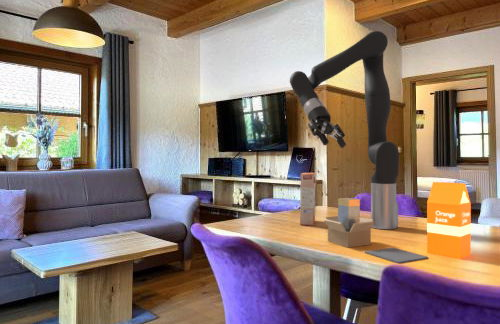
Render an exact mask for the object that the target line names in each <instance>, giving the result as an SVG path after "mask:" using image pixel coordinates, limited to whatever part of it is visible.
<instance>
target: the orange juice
mask: <svg viewBox="0 0 500 324" xmlns="http://www.w3.org/2000/svg"><path fill="white" fill-rule="evenodd" d="M426 204H427V206H426V208H427V209H426V216H427V217H426V220H427V221H426V232H427V233H426V236H427V237H426V242H427V243H426V248H427V249H426V253H427V254H430V255H435V256H441V257H447V258H452V259H457V260H461V259H465V258H466V257H468V256H470V255H471V246H472V245H471V242H472V241H471V240H472V239H471V237H472V236H471V233H472V225H471V224H472V223H471V221H472V220H471V219H472V216H471V215H472V214H471V213H472V212H471V211H472V208H471V207H472V206H471V200H470V197H469V193H468V189H467V185H466V183H465V182H444V181H443V182H441V181H440V182H439V181H432V185H431V188H430V192H429V195H428V199H427V202H426Z"/></svg>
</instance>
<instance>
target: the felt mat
mask: <svg viewBox="0 0 500 324" xmlns="http://www.w3.org/2000/svg"><path fill="white" fill-rule="evenodd" d="M364 254H366V255H367V254H368V255H371V256H374V257H376V258H379V257H380V259H383V260H387V261H390V262H393V263H396V264H403V263H409V262H416V261H421V260H428V259H429V256H426V255H423V254H418V253H415V252H412V251H407V250H403V249H400V248H396V247H387V248H380V249H373V250H365V251H364Z"/></svg>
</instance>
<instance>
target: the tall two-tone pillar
mask: <svg viewBox="0 0 500 324" xmlns="http://www.w3.org/2000/svg"><path fill="white" fill-rule="evenodd" d="M360 201H361V199H359V198H353V197H341V198H337V216H338V222H340V223H342V225H343V227H344V228H345V230H346V232H349V231H350V230H351V228H352V226H353V224H354V223H360V217H361V216H360V215H361V209H360V208H361V204H360V203H361V202H360Z"/></svg>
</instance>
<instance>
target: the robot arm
mask: <svg viewBox="0 0 500 324" xmlns="http://www.w3.org/2000/svg"><path fill="white" fill-rule="evenodd" d="M387 47H388V37H387V35H386V34H385V32H382V31H379V30H374V31H370V32H369V33H367V34H366V35H365V36H363V37H362V38H361V39H360V40H358V41H357V42H355V43H354V44H353V45H351V46H349V47H348V48H346V49H345V50H343V51H340V52H339V53H337V54H335V55H334V56H331V57H330V58H328V59H325V60H324V61H322V62H320V63H318V64H316V65H314V66H313V67H311V72H310V73H311V74H310V75H309V76H307V74H306V73H305V72H303V71H301V70H300V71H299V70H296V71H294V72H293V73H292V74H291V75H290V77H289V84H290V86H291V89H292V90H293V93H294V95H296V96H297V98H298V101H299V102H300V105H301V107H302V109H303V111H304V113H305V116H306V117H307V119H308V121H309V122H308V123H307V126H308V128H309V131H310V132H311V134H312V136H314V137H317V138H319V140H320V142H321V144H322V145H323V146H327V145H328V144H329V143H330V142H329V139H328V137H327V136H329V137H331V138H333V139H335V141H336V142H337V144H338V146H339V147H340V149H341V148H342V149H344V148H345V146H347V144H346V141H345V140H344V137H346V134H345V133H344V131H343V129H342V128H341V126H340V125H339V124H338V123H336V124H333V123H332V122H331V121H332V119H331V118H332V116H331V114H330V113H329V112H330V111H328V109H327V107H326V105H325V104H324V102H323V101H322V100H321V99H320V97H319V95H318V94H317V92H316V91H315V90H316V89H317V88H318V87H319V86H320V85H321V84H322V83H324V82H326V81H328V80H330V79H331V78H334V77H335V76H337V75H338V74H340V73H342V72H343V71H345V70H346V69H348V68H349V67H350V66H353V65H354V64H356V63H357V62H359V61H361V60H362V63H363V70H364V100H365V101H364V102H365V112H366V124H367V134H368V135H367V157H368V159H369V162H371V164H373V165H375V170H374V173H373V174H372V175H371V177H370V219H372V220H374V223H373V225H372V227H371V228H374V229H380V230H394V229H395V230H396V229H398V228H399V202H397V178H398V176H399V173H400V171H399V170H400V169H399V168H400V150H399V148H398V146H397V145H396V144H395V143H394V142H391V141H388V138H387V125H388V120H389V118H390V113H391V104H392V102H391V93H390V87H389V84H388V80H387V78H386V75H385V70H384V53H385V52H386V49H387ZM326 135H327V136H326Z"/></svg>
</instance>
